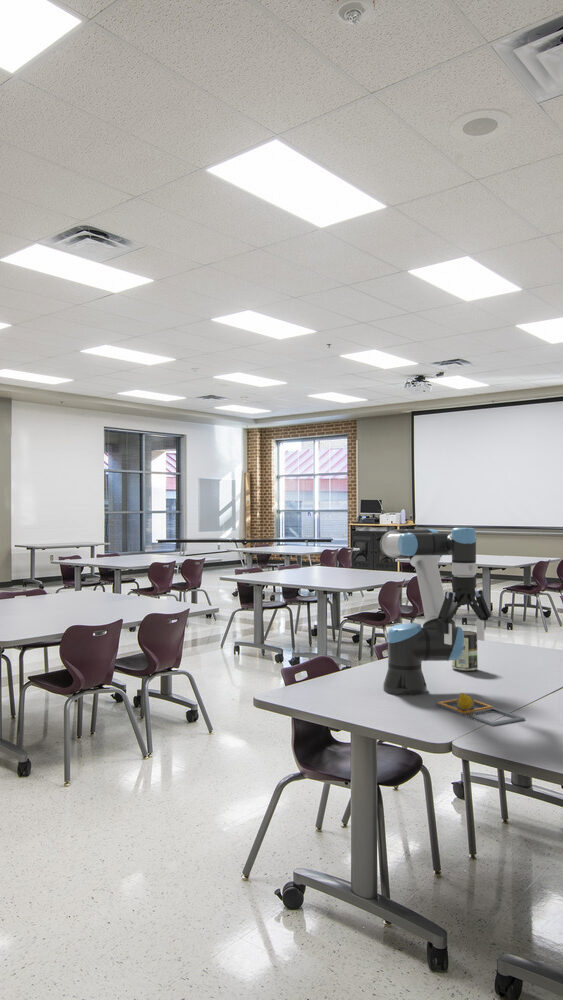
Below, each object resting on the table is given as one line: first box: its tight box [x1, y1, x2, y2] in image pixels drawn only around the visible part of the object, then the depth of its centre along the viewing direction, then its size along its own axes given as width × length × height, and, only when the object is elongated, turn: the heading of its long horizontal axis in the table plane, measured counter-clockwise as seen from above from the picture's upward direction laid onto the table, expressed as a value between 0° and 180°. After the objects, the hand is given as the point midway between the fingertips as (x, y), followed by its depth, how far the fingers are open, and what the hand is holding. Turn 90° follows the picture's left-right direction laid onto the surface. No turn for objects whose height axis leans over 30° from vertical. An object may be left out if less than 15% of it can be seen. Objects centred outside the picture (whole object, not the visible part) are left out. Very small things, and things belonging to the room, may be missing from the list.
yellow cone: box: [456, 692, 475, 711], centre depth 213 cm, size 5×5×10 cm
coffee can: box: [451, 630, 479, 671], centre depth 273 cm, size 10×10×14 cm
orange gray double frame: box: [435, 698, 526, 727], centre depth 211 cm, size 25×13×1 cm, turn 27°
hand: (464, 642), depth 217 cm, fingers open, 13 cm apart
